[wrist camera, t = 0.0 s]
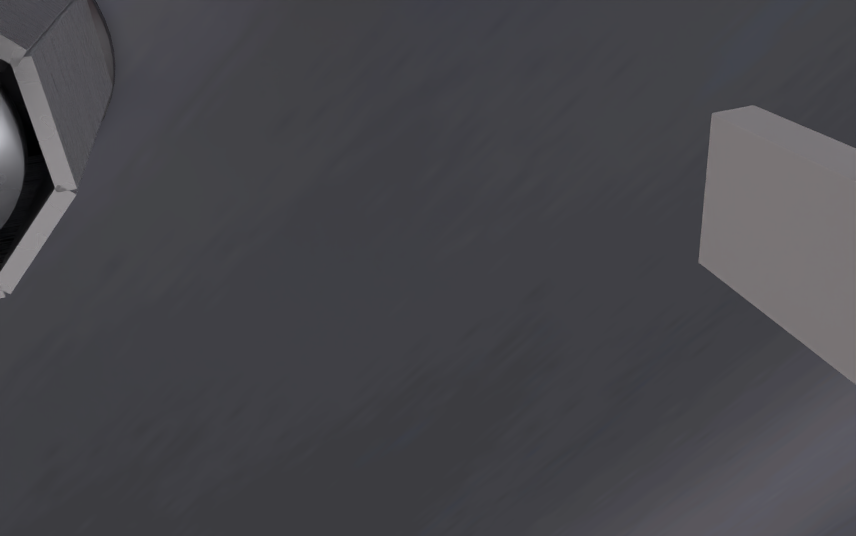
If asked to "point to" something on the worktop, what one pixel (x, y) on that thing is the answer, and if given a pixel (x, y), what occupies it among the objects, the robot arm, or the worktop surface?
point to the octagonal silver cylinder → (51, 112)
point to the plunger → (11, 155)
